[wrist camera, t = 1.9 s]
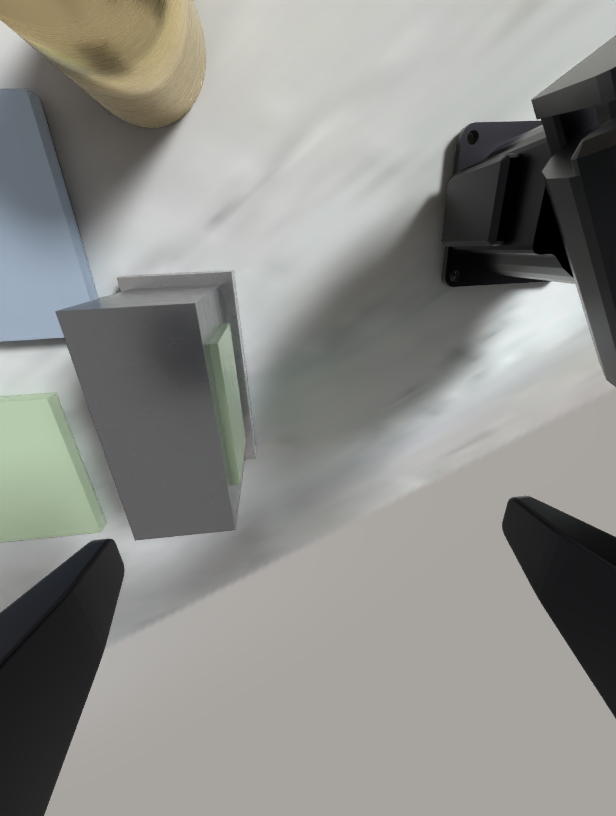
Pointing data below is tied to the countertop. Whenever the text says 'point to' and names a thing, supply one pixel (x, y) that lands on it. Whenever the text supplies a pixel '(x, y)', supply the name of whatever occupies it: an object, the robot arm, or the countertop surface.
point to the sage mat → (42, 473)
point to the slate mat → (35, 227)
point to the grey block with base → (168, 397)
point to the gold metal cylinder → (120, 51)
